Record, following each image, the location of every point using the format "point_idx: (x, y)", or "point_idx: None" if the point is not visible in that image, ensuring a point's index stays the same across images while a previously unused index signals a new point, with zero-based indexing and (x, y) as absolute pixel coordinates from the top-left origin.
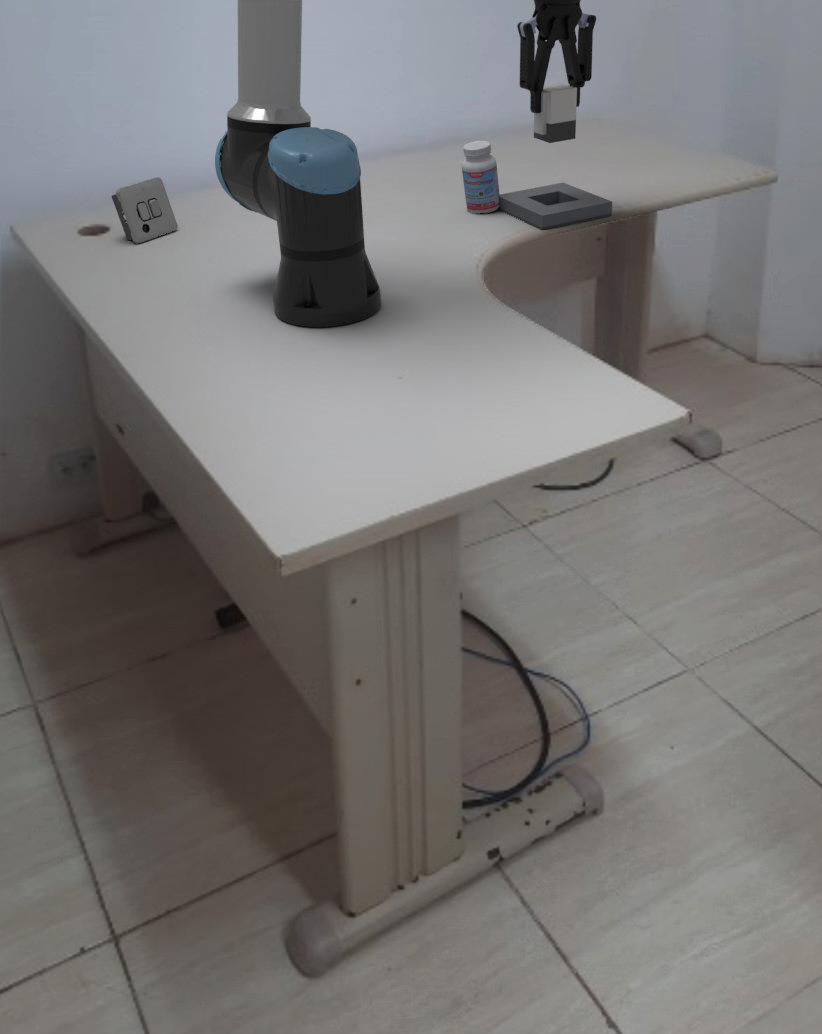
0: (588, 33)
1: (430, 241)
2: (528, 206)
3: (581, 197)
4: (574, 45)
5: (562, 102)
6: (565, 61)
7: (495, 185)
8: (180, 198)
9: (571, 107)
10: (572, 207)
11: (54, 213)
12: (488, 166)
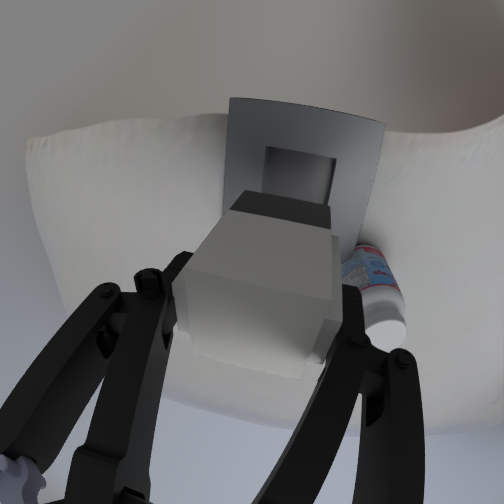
0: (11, 428)
1: (498, 216)
2: (363, 181)
3: (254, 153)
4: (95, 439)
5: (273, 254)
6: (157, 402)
7: (364, 266)
8: (450, 421)
9: (235, 233)
10: (311, 117)
11: (491, 422)
12: (385, 289)
